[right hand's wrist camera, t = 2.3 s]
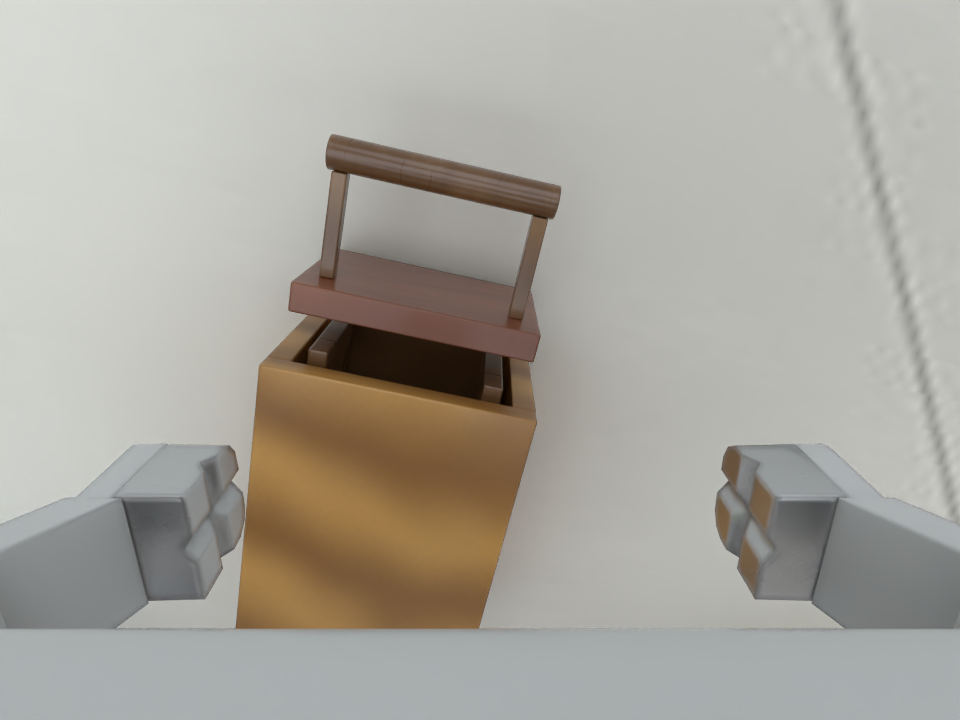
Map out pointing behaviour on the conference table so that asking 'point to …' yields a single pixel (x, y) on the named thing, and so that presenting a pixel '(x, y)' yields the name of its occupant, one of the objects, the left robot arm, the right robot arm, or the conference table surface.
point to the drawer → (422, 284)
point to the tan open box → (376, 496)
